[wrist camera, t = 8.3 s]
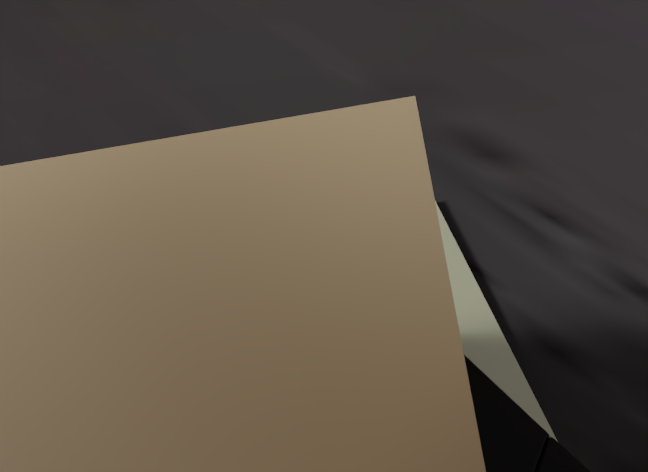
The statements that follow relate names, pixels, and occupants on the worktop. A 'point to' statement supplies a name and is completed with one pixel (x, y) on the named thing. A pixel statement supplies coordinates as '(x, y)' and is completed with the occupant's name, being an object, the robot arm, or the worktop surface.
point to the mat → (485, 332)
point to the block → (234, 304)
